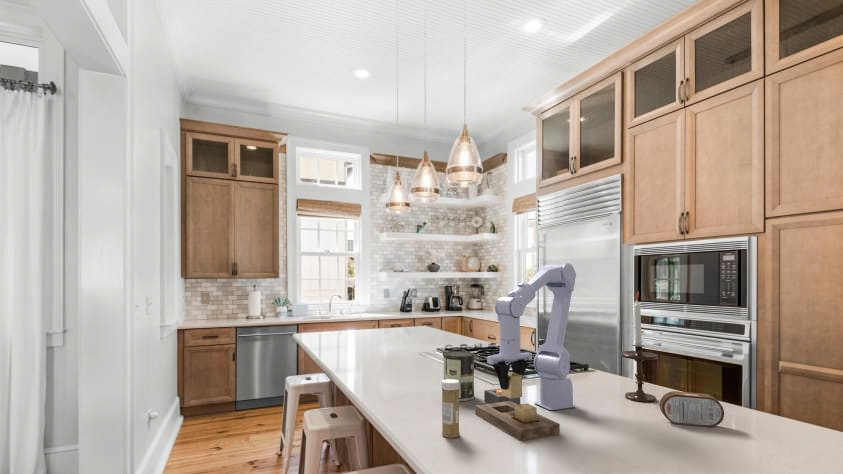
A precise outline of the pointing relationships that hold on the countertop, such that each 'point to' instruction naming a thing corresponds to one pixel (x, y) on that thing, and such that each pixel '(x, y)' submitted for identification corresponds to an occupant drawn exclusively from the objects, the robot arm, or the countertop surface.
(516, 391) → the loose billet
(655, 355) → the candlestick
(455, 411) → the sprinkles bottle
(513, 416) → the wooden socket board
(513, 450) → the countertop surface
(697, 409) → the tin
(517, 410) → the block
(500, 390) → the button
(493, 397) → the button housing
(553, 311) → the robot arm
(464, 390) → the coffee can
